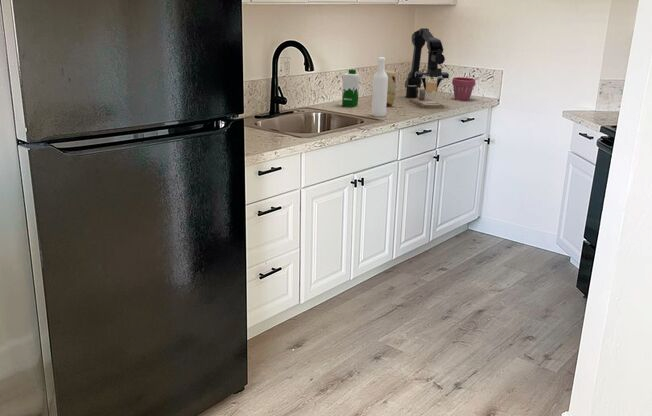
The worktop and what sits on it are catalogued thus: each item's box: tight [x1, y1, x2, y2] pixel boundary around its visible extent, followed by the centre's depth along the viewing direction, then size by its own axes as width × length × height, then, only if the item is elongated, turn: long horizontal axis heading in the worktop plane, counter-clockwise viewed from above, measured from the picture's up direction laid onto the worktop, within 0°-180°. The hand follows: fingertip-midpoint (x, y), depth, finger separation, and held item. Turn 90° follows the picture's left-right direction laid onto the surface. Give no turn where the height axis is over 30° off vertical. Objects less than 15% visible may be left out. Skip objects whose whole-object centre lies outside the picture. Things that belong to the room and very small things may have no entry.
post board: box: [408, 89, 444, 109], centre depth 368 cm, size 24×12×8 cm, turn 14°
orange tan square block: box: [424, 81, 438, 92], centre depth 360 cm, size 6×6×4 cm
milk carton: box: [341, 69, 360, 108], centre depth 354 cm, size 9×9×20 cm
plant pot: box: [451, 76, 477, 101], centre depth 388 cm, size 14×14×13 cm
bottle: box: [370, 56, 388, 118], centre depth 328 cm, size 8×8×30 cm
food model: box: [385, 70, 397, 107], centre depth 359 cm, size 10×7×20 cm
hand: (430, 90), depth 361 cm, fingers closed on orange tan square block, 6 cm apart
